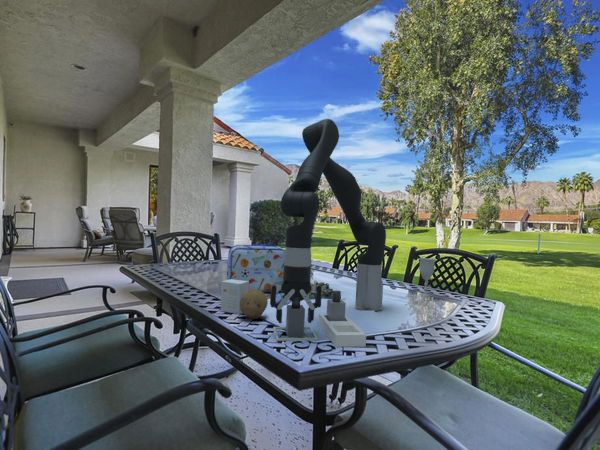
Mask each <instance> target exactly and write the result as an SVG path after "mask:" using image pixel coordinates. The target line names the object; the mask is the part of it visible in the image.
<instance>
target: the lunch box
mask: <svg viewBox="0 0 600 450" xmlns="http://www.w3.org/2000/svg"><path fill="white" fill-rule="evenodd" d="M284 254H285V249H284V248H282V247H280V246H277V245H275V242H272V243H269V244H235V245H233V246H231V247H230V249H229V250H228V254H227V266H226V280H229V279H234V280H242V281H249V290H251V289H257V290H260V291H262V292H263V293H271V285H272V284H275V285H282V283H283V272H284ZM279 292H283V291H282V289H280V290H279Z"/></svg>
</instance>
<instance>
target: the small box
mask: <svg viewBox="0 0 600 450" xmlns="http://www.w3.org/2000/svg"><path fill="white" fill-rule="evenodd" d="M220 285H221V287H220V288H221V290H220V291H221V292H220V311H221V312H225V313H231V314H236V315H241V314H243V313H242V312H241V310H240V300H241V297H242V296H243V295H244V294H245V293H246V292H247V291H249V281H242V280H234V279H229V280H227V279H225V280H222V281H221V283H220Z"/></svg>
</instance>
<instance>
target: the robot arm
mask: <svg viewBox="0 0 600 450" xmlns="http://www.w3.org/2000/svg"><path fill="white" fill-rule="evenodd" d="M301 136H302V140H303V143H304V145H305V147H306V149H307V150H308V152H309V154H308V155H307V156H306V157H305V158H304V160H303V162H302V163H301V164H300V166H299V169H298V171H297V174H296V176H295V180H294V181H293V182H292V183H291V184H290V185H289V187H288V188H287V189H286V190H285V192H284V193H283V195H282V196H281V200H280V210H281V212H282V213H283V215H285V216H286V217H290V218H303V220H302V222H301V223H300V224H294V225H290V226H288V227H287V228H286V232H285V234H286V235H285V249H284V250H285V254H284V272H283V283H282V285H275V284H272V285H271V292H270V298H269V299H270V301H269V306H270V307H271V308H274V309H276V312H275V313H276V314H275V319H276V321H277V322H278V324H282V323H283V322H282V321H283V319H282V318H283V309H282V308H283V307H284V306H285V305H286V304H287V303H288V301H290V302H292V301H294V300H295V297H299V301H300V302H302V301H305V303H306V304H307V306H308V308H307V322H308V323H309V324H312V322H314V320H315V318H314V317H315V309H317V308H321V307H322V299H321V286H319V285H318V284H317V285H316V286H311V284H310V283H311V274H312V273H311V272H312V269H311V268H312V249H311V248H312V235H313V228H314V225H315V221H316V218H317V215H318V213H319V209H320V199H319V197H318V195H317V194H316V192H318V190H319V186H320V182H321V180H322V175H323V177H324V178H325V179H326V181H327V183H328V185H329V187H330V189H331V192H332V194H333V195H334V197H335V199H336V201H337V203H338V204H339V206H340V208H341V210H342V212H343V214H344V216H345V219H346V220H347V223H348V225H349V228H350V231H351V232H352V235H353V238H354V239H355V241H356V243H358V244H359V245H362V246H367V249H366V251H365V252H364V253H361V254H359V255H358V256H357V261H356V262H357V266H356V281H355V282H356V287H355V301H354V303H355V309H357V310H359V311H374V312H378V311H383V295H384V294H383V293H384V292H383V291H384V285H383V284H382V269H383V260H384V257H385V251H386V242H387V241H386V240H387V239H386V238H387V230H386V228H385V225H384V224H383V223H382V222H378V221H367V220H366V219H365V218H364V217H365V216H364V215H363V213H362V210H361V201H362V191H361V188H360V186H359V183H358V181H357V179H356V177H355V176H354V174H353V173H352V172H351V171H350V170H348V169H347V168H346V167H343V166H342V165H340V164H339V163H337V162H336V161H335V160H333V158H331V156H332V155H333V152H334V150H335V149H336V147H337V145H338V143H339V139H340V132H339V129H338V126H337V124H336V123H335V120H332V119H331V118H324V119H321V120H319V121H316V122H314V123H312V124H310V125H308V126H305V127H304V128H303V130H302V133H301ZM280 289H282V291H281V292H283V295H282V296H281V297H280V299H279V300H278V301H277V302H276V297H277V294H278V293H279V292H280V291H279V290H280ZM311 289H312V290H313V292H314V293H315V299H314V300H315V301H314V302H312V300H310V299H309V297H308V296H307V295H308V294H309V292H310V291H311Z"/></svg>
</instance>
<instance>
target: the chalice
mask: <svg viewBox="0 0 600 450" xmlns="http://www.w3.org/2000/svg"><path fill="white" fill-rule="evenodd" d="M436 260H437V259H436V258H430V257H429V258H428V257H427V258H426V257H425V258H424V257H419V258H418V261H419V268H418V269H419V272H420V275H421V278H422V279H423V280H424V284H423V285H424V287H423V290H424V292H423V293H421V295H420V296H421V297H425V298H431V296H430V294H429V293H428V289H429V288H428V285H429V283H428V281H429V280H430V279H431V278H432V276H433V274H434V272H435V264H436V263H435V262H436Z"/></svg>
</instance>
